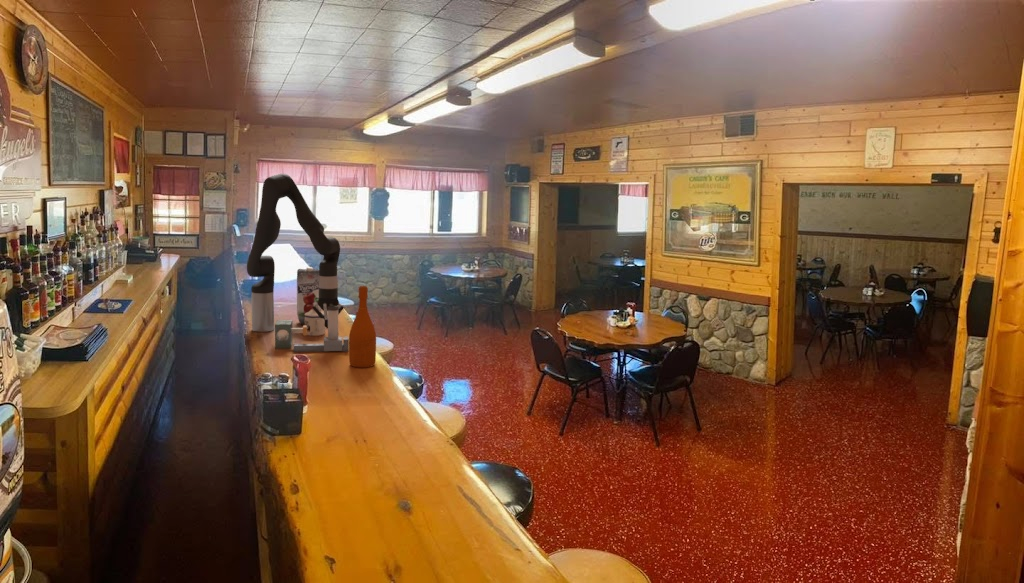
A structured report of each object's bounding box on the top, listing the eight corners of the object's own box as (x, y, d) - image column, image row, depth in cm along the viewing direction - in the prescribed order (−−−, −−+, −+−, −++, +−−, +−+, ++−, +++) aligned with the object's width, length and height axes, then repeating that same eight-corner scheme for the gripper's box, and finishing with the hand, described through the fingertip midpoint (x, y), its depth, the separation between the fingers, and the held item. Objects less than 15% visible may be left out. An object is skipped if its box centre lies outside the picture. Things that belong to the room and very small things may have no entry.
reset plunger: (284, 333, 264) (284, 325, 263) (307, 333, 266) (307, 325, 265) (283, 335, 261) (283, 327, 260) (306, 335, 263) (306, 327, 262)
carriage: (324, 347, 262) (324, 305, 259) (342, 347, 264) (342, 305, 261) (323, 351, 256) (323, 308, 253) (342, 350, 258) (342, 308, 255)
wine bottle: (379, 362, 246) (380, 284, 241) (371, 369, 237) (371, 288, 232) (354, 360, 247) (354, 283, 242) (345, 367, 237) (345, 287, 233)
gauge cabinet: (277, 343, 266) (276, 320, 264) (292, 343, 267) (292, 320, 266) (275, 349, 258) (274, 324, 256) (290, 348, 259) (290, 324, 258)
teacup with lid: (302, 332, 288) (302, 306, 286) (323, 330, 292) (322, 305, 290) (308, 338, 278) (308, 311, 276) (329, 336, 282) (329, 310, 280)
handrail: (294, 349, 259) (294, 337, 258) (348, 348, 264) (348, 336, 263) (293, 352, 254) (293, 340, 253) (348, 351, 259) (348, 339, 258)
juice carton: (296, 321, 308) (296, 265, 303) (319, 320, 312) (319, 265, 308) (298, 325, 300) (298, 268, 295) (322, 324, 304) (322, 267, 300)
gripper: (310, 287, 258) (311, 330, 261) (344, 288, 261) (344, 330, 264) (311, 285, 265) (312, 326, 268) (345, 285, 268) (345, 326, 271)
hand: (328, 328), depth 266 cm, fingers closed
